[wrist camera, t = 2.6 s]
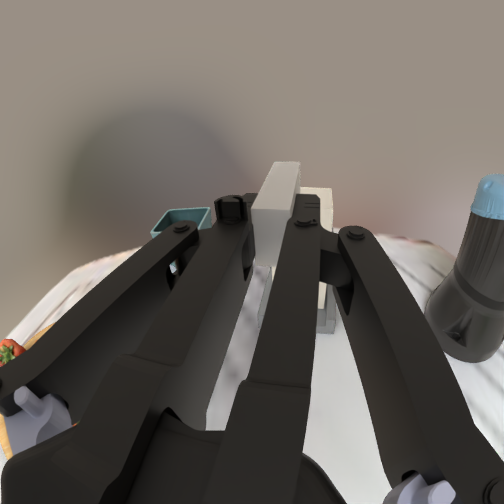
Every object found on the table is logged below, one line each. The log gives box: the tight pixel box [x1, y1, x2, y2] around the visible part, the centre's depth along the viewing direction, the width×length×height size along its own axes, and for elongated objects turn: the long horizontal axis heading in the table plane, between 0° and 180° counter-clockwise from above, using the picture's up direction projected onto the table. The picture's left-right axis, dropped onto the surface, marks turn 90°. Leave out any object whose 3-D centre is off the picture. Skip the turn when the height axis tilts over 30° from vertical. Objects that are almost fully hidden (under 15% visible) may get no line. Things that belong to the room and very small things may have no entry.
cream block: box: [272, 187, 333, 309], centre depth 36 cm, size 7×6×15 cm
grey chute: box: [258, 227, 336, 334], centre depth 45 cm, size 10×24×3 cm, turn 168°
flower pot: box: [151, 207, 212, 267], centre depth 50 cm, size 9×9×9 cm
